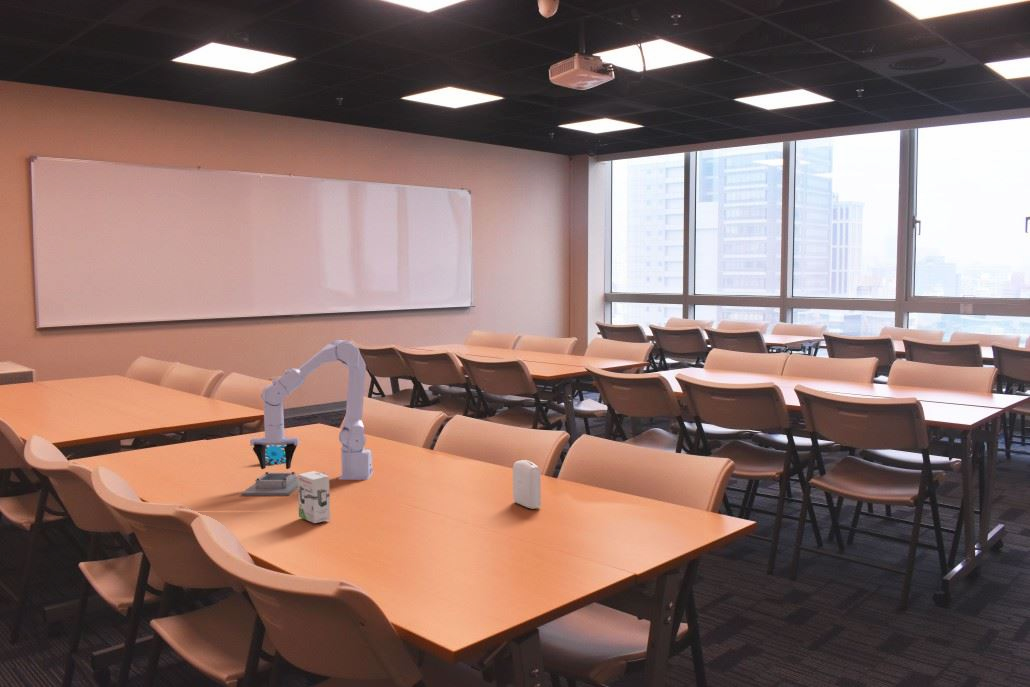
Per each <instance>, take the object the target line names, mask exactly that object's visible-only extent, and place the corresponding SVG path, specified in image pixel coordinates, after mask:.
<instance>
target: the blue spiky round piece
mask: <svg viewBox="0 0 1030 687" xmlns="http://www.w3.org/2000/svg"><path fill="white" fill-rule="evenodd" d="M285 446H286V445H266V451H265V460H266V463H268V462H270V463H269V465H270V466H274V465H275V462H276V461H277V463H276V465H277V466H278V465H282V464H286V456H285V450H284V447H285ZM281 460H282V462H281Z"/></svg>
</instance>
